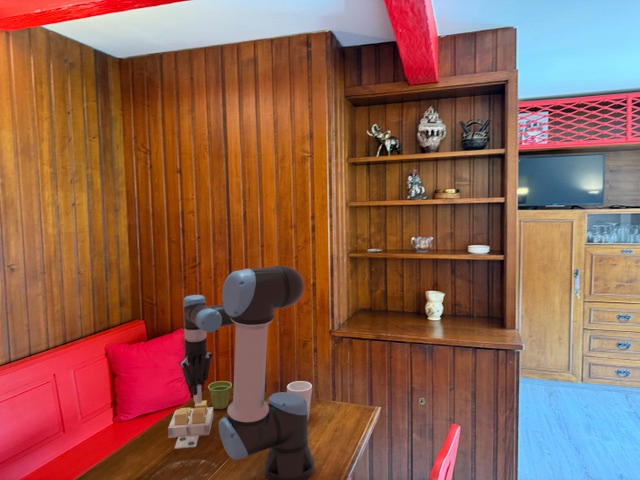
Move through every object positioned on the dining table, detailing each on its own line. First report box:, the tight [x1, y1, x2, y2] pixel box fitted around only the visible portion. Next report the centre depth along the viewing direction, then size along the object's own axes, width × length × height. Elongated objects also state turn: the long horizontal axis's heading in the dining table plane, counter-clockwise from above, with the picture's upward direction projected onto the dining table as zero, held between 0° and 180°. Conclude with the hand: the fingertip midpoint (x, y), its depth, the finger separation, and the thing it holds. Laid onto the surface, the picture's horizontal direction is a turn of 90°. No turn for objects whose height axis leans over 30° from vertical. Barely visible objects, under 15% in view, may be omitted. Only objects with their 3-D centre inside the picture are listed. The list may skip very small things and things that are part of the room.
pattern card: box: [174, 435, 200, 450], centre depth 150 cm, size 7×7×1 cm
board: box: [167, 406, 214, 439], centre depth 160 cm, size 14×14×4 cm
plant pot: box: [207, 380, 233, 410], centre depth 176 cm, size 9×9×9 cm
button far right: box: [194, 400, 208, 415], centre depth 163 cm, size 4×4×4 cm
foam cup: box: [286, 380, 313, 420], centre depth 164 cm, size 10×9×13 cm
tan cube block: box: [179, 407, 192, 416], centre depth 163 cm, size 4×4×4 cm
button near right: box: [192, 407, 205, 424], centre depth 157 cm, size 4×4×4 cm
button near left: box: [174, 408, 188, 425], centre depth 157 cm, size 4×4×4 cm
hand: (197, 402), depth 157 cm, fingers closed
